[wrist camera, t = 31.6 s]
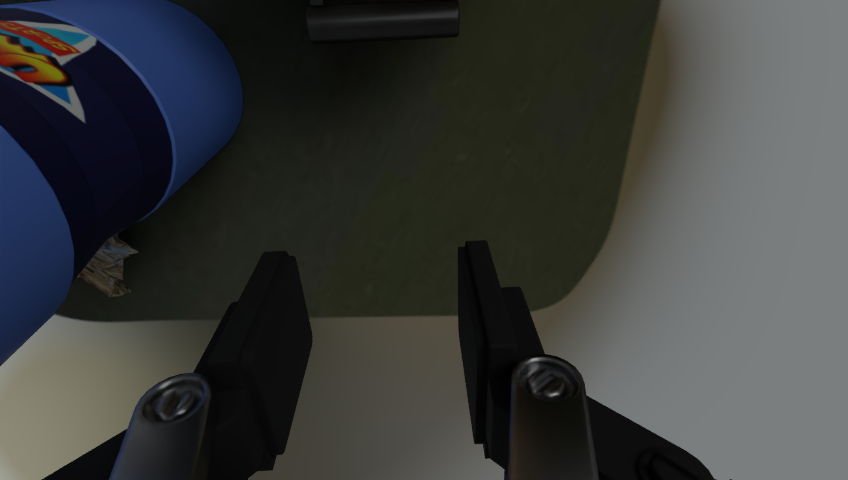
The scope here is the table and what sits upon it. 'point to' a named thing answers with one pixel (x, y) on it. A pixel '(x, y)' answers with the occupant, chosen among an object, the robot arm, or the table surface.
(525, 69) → the table surface
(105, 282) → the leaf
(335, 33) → the drawer
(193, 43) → the water bottle
